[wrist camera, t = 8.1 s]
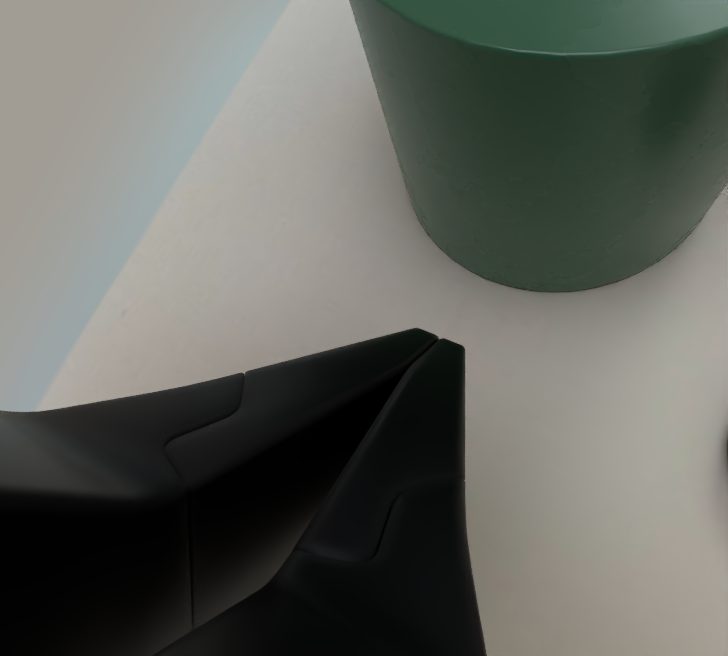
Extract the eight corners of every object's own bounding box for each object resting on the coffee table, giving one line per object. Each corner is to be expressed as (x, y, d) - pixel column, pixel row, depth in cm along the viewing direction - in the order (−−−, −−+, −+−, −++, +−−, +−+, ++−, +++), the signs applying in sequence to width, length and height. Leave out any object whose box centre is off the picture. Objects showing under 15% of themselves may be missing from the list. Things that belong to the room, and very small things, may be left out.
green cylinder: (707, 316, 16) (989, 67, 7) (376, 269, 19) (256, 48, 10) (734, 31, 18) (973, -446, 9) (436, 27, 21) (386, -341, 12)
